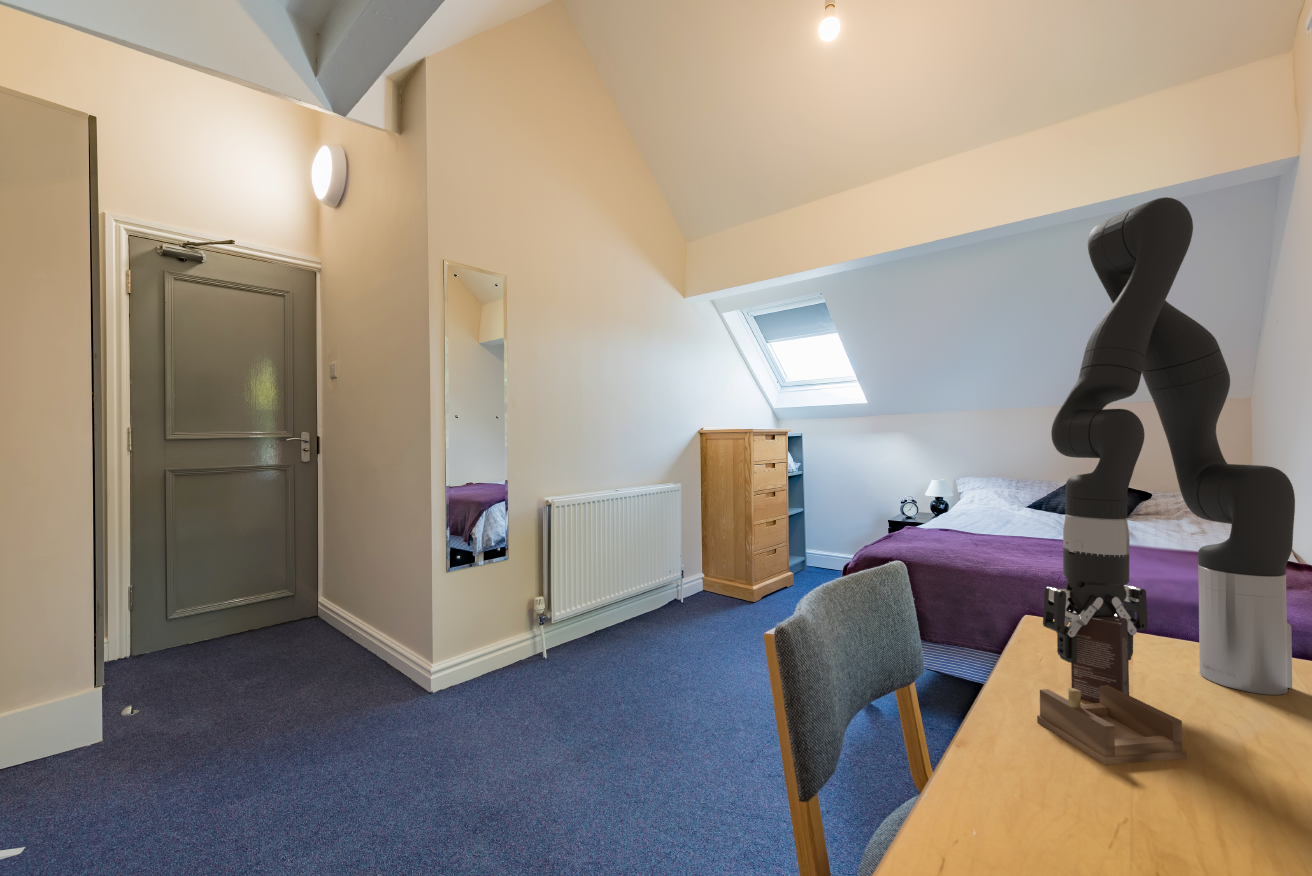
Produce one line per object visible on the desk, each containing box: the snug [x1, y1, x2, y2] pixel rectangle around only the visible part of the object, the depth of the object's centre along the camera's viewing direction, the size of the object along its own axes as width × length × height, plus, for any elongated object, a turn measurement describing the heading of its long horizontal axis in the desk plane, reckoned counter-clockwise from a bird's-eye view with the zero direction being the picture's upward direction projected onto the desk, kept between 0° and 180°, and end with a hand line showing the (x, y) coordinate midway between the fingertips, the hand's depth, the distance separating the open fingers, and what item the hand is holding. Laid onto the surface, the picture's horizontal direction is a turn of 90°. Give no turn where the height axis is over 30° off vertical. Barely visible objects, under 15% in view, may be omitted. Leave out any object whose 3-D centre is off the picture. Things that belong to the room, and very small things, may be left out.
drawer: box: [1036, 685, 1187, 766], centre depth 69 cm, size 10×10×6 cm
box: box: [1069, 610, 1130, 703], centre depth 80 cm, size 6×4×12 cm
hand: (1094, 659), depth 80 cm, fingers open, 8 cm apart
